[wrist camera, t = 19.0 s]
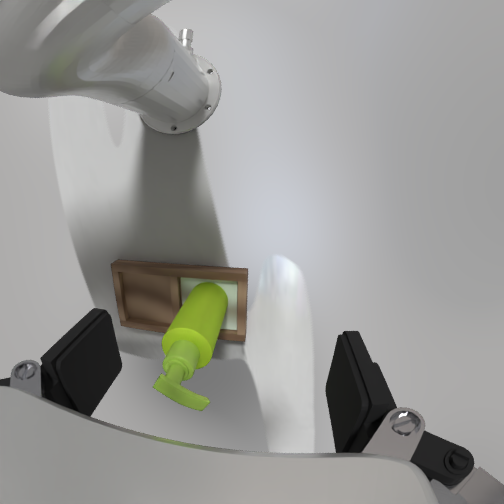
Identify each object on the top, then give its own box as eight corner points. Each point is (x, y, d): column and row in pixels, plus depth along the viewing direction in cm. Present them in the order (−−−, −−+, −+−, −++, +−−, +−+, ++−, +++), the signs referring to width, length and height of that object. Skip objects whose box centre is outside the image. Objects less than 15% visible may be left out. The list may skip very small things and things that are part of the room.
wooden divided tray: (117, 259, 43) (101, 270, 38) (248, 268, 42) (244, 282, 37) (126, 319, 46) (113, 334, 41) (246, 333, 45) (243, 352, 40)
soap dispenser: (221, 326, 43) (192, 423, 24) (183, 303, 43) (132, 390, 24) (241, 299, 42) (219, 394, 23) (201, 274, 41) (151, 356, 22)
